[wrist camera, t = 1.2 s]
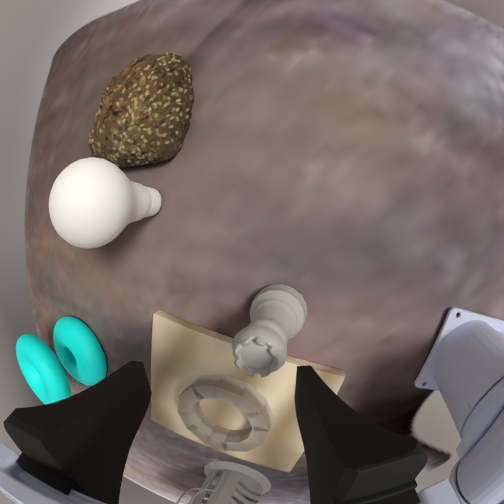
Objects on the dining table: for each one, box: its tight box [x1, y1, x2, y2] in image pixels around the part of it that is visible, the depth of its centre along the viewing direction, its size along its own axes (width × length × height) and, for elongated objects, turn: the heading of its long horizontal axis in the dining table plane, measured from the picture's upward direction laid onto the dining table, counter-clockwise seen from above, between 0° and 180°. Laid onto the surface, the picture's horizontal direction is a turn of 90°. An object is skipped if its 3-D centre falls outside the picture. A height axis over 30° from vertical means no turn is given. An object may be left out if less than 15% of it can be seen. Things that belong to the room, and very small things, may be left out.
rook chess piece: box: [232, 284, 307, 378], centre depth 18 cm, size 4×4×8 cm
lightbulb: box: [49, 157, 161, 249], centre depth 18 cm, size 6×6×11 cm
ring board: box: [151, 310, 345, 472], centre depth 23 cm, size 18×16×3 cm
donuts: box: [16, 316, 107, 405], centre depth 25 cm, size 10×10×10 cm
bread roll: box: [88, 52, 194, 168], centre depth 20 cm, size 13×12×5 cm
